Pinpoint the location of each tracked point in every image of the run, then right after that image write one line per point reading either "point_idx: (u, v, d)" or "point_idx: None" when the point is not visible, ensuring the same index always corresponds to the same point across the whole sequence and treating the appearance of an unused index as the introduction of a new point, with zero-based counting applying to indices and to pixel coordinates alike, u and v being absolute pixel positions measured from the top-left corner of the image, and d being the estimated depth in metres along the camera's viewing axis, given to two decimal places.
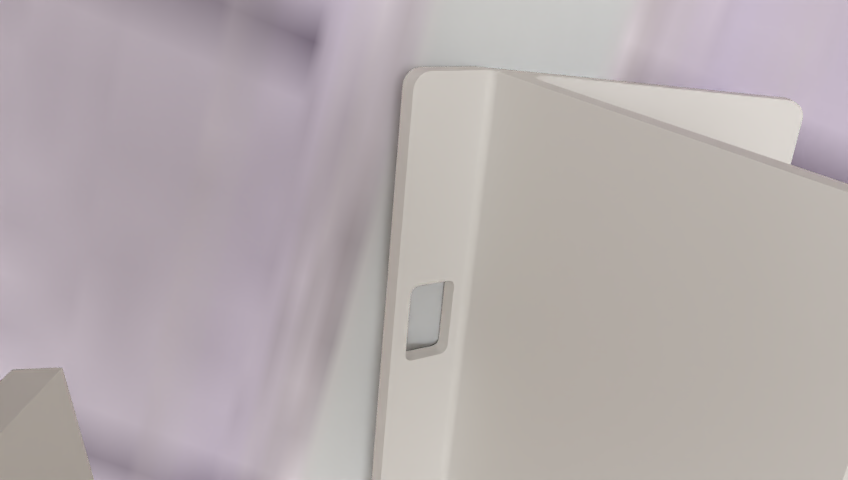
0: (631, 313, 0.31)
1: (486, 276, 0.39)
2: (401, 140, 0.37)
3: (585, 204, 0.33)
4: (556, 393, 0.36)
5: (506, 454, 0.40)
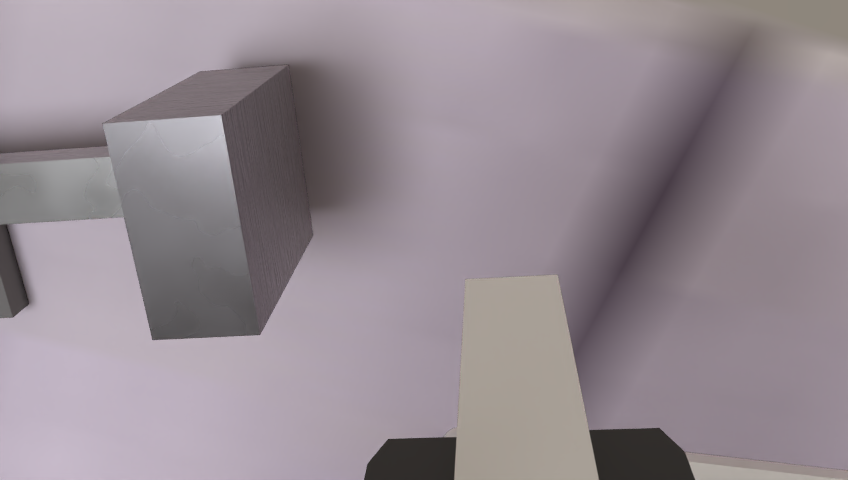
0: None
1: None
2: None
3: None
4: None
5: None
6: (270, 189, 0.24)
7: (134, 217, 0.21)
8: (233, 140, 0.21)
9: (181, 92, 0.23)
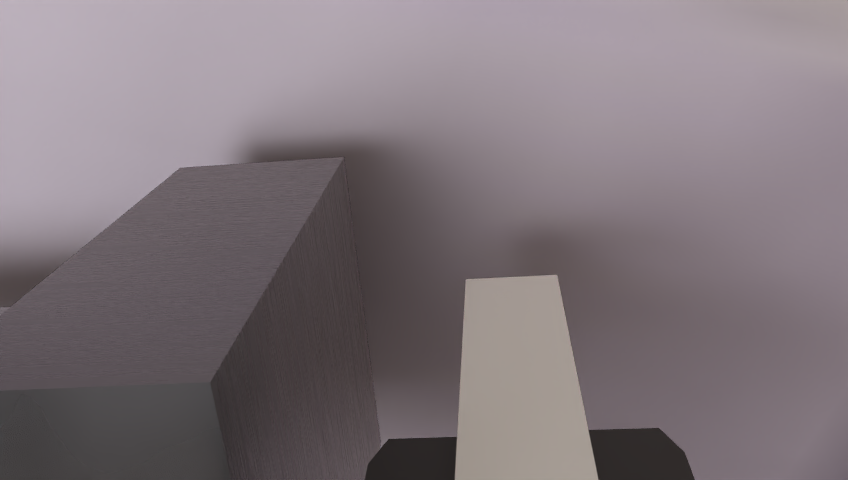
0: None
1: None
2: None
3: None
4: None
5: None
6: (319, 444, 0.11)
7: None
8: (242, 418, 0.08)
9: (132, 245, 0.11)
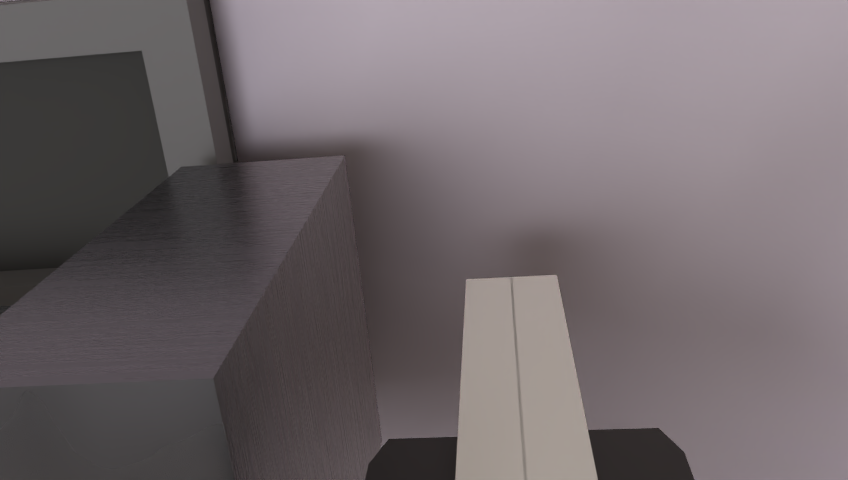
0: None
1: None
2: None
3: None
4: None
5: None
6: (320, 441, 0.11)
7: None
8: (244, 414, 0.08)
9: (134, 243, 0.11)
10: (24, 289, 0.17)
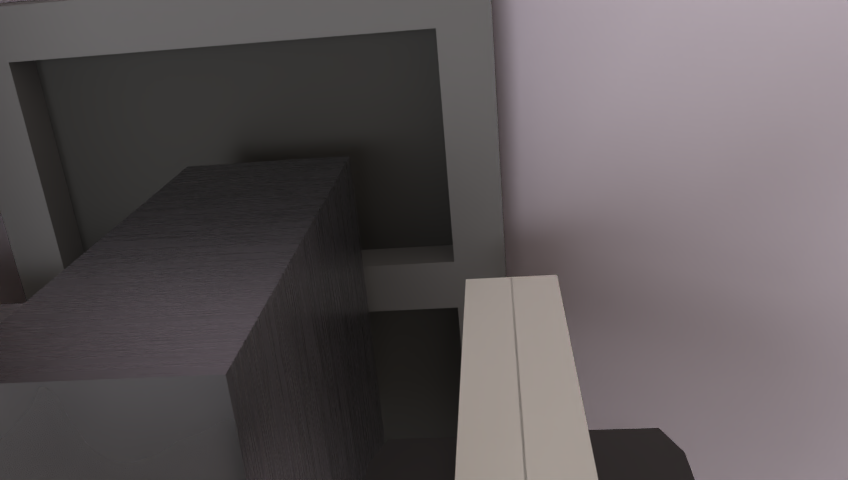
0: None
1: None
2: None
3: None
4: None
5: None
6: (326, 438, 0.12)
7: None
8: (255, 410, 0.08)
9: (143, 242, 0.11)
10: None
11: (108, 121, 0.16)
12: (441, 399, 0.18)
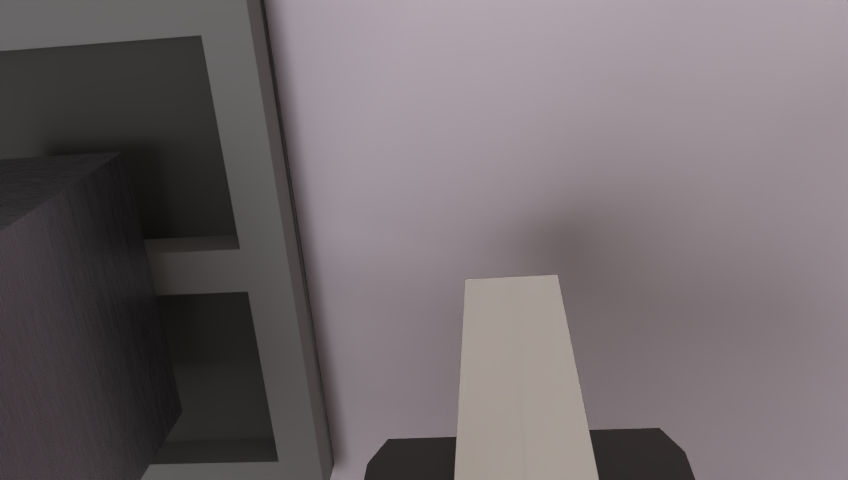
0: None
1: None
2: None
3: None
4: None
5: None
6: (48, 402, 0.13)
7: None
8: None
9: None
10: None
11: None
12: (252, 377, 0.20)
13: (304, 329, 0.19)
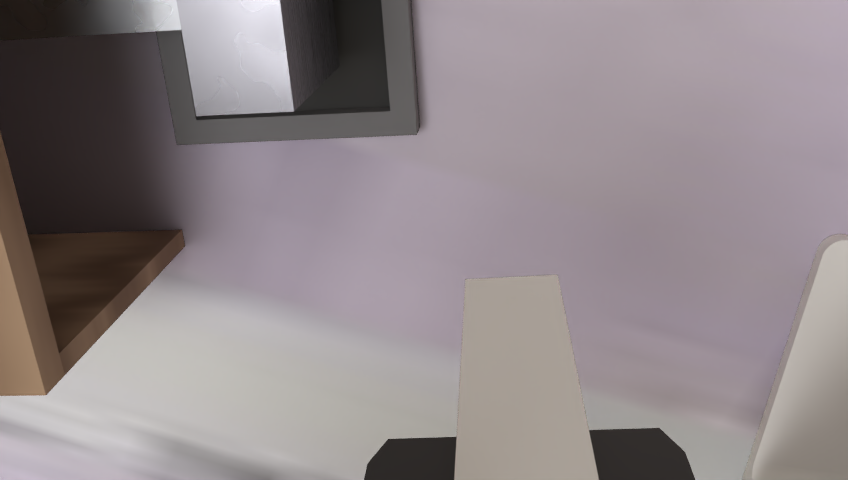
0: None
1: None
2: None
3: None
4: None
5: None
6: None
7: None
8: None
9: None
10: None
11: None
12: (374, 62, 0.33)
13: (410, 24, 0.31)
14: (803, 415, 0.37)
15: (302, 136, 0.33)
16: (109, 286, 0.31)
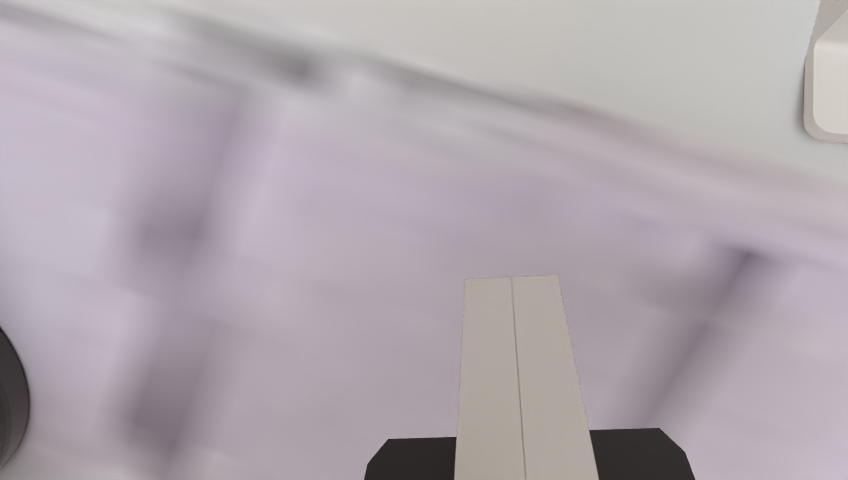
0: None
1: None
2: None
3: None
4: None
5: None
6: None
7: None
8: None
9: None
10: None
11: None
12: None
13: None
14: None
15: None
16: None
